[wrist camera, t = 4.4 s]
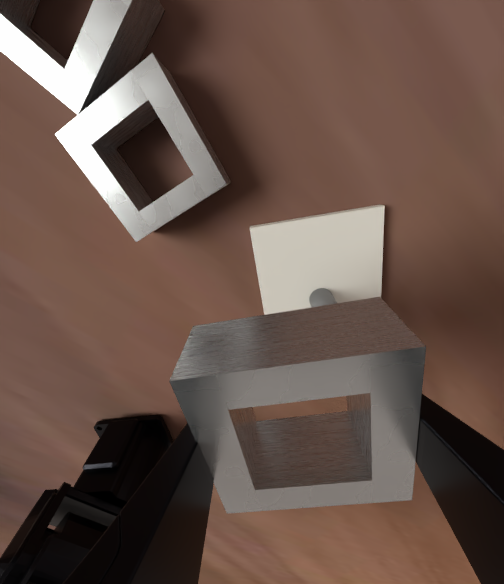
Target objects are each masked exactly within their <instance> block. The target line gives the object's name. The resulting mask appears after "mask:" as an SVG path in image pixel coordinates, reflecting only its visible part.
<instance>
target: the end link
mask: <svg viewBox="0 0 504 584" xmlns="http://www.w3.org/2000/svg"><path fill="white" fill-rule="evenodd" d="M425 352H426V346H425V345H424V344H423V343H422V342H421V341H420V339H419V338H418V337H417V336H416V335H415V334H414V333H413V332H412V331H411V330H410V329H409V328H408V327H407V325H406V324H405V323H404V322H403V321H402V320H401V319H400V318H399V317H398V316H397V315H396V314H395V312H394V311H393V310H392V309H391V308H390V307H389V306H388V305H387V304H386V303H385V302H384V301H383V300H382V298H381V297H374V298H368V299H361V300H355V301H349V302H343V303H336V304H330V305H324V306H317V307H311V308H305V309H298V310H292V311H286V312H279V313H273V314H267V315H260V316H254V317H248V318H241V319H235V320H229V321H223V322H216V323H210V324H204V325H197V326H193V328H192V330H191V333H190V335H189V337H188V339H187V342H186V344H185V346H184V349H183V351H182V353H181V356H180V358H179V360H178V362H177V365H176V367H175V369H174V372H173V374H172V376H171V379H170V384H171V386H172V388H173V390H174V393H175V395H176V397H177V400H178V402H179V404H180V407H181V409H182V411H183V413H184V416H185V418H186V420H187V423H188V425H189V427H190V429H191V432H192V434H193V436H194V439H195V441H196V442H198V444H199V446H200V448H201V451H202V453H203V455H204V458H205V460H206V462H207V465H208V467H209V469H210V472H211V474H212V476H213V478H214V485H215V487H216V489H217V491H218V494H219V496H220V498H221V501H222V503H223V505H224V507H225V510H226V512H227V513H240V512H253V511H267V510H281V509H295V508H309V507H322V506H336V505H350V504H364V503H378V502H391V501H405V500H412V493H413V483H414V472H415V461H416V450H417V439H418V428H419V417H420V406H421V395H422V384H423V374H424V363H425ZM340 396H346V397H347V411H344V412H335V413H326V414H318V415H309V416H300V417H291V418H282V419H273V420H264V421H256V419H255V415H254V411H253V408H252V407H256V406H265V405H273V404H281V403H290V402H298V401H307V400H315V399H324V398H332V397H340Z"/></svg>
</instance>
